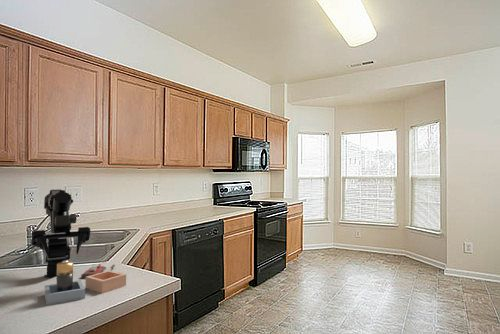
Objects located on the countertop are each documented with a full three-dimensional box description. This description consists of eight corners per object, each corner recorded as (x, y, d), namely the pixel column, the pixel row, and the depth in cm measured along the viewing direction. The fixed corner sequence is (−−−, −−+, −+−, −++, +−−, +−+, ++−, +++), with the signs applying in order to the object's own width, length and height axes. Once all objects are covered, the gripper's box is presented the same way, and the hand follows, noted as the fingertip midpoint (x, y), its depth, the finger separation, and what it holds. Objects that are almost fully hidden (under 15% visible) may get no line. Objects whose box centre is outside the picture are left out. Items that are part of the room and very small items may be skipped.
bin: (85, 290, 121) (85, 276, 121) (109, 283, 129) (109, 270, 129) (102, 296, 116) (102, 281, 116) (126, 288, 124) (126, 274, 124)
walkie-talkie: (102, 282, 132) (116, 268, 152) (102, 271, 132) (116, 258, 152) (78, 282, 131) (96, 268, 151) (79, 271, 131) (96, 258, 151)
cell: (64, 293, 115) (64, 258, 116) (75, 294, 114) (76, 259, 115) (52, 298, 111) (53, 262, 111) (65, 299, 110) (65, 263, 110)
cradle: (44, 297, 114) (44, 285, 114) (80, 291, 120) (80, 280, 120) (46, 308, 105) (46, 295, 105) (85, 301, 111) (85, 288, 111)
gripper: (32, 208, 119) (32, 244, 109) (90, 205, 129) (94, 239, 120) (31, 227, 125) (31, 263, 116) (86, 223, 135) (90, 256, 126)
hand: (63, 255), depth 119 cm, fingers open, 9 cm apart
